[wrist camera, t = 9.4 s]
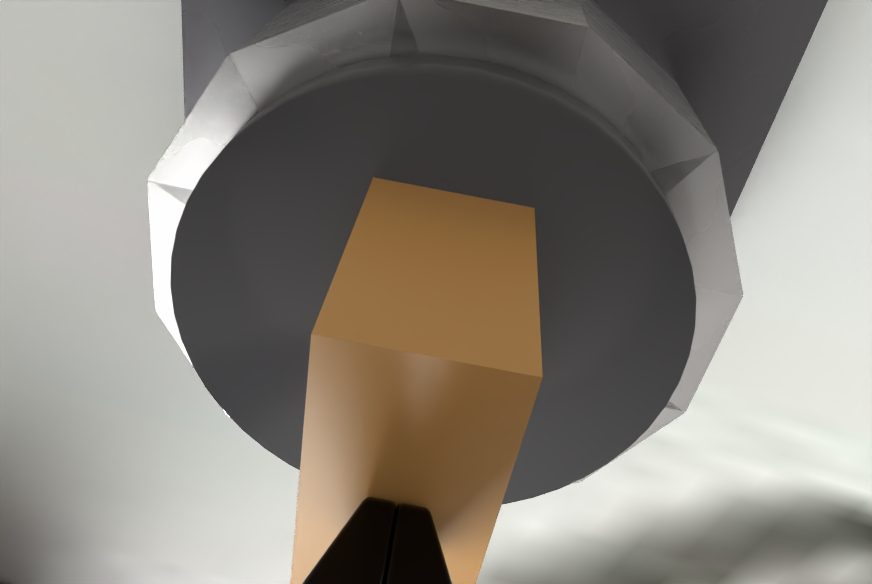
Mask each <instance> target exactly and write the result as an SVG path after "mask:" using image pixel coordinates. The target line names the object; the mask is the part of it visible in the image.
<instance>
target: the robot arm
mask: <svg viewBox="0 0 872 584" xmlns="http://www.w3.org/2000/svg"><path fill="white" fill-rule="evenodd" d="M302 584H452V581H451V578H450V575H449V571H448V568H447V565H446V561H445V558H444V555H443V551H442V548H441V544H440V541H439V538H438V534H437V531H436V528H435V524H434V521H433V518H432V515H431V513H430V511H429V510H428V509H427V508H425V507H421V506H416V505H411V504H405V503H402V504H399V505H398V506H397V509H396V504H395V503H394V502H393V501H389V500H384V499H379V498H374V497H367V498H365V499H364V500H363V501H362V502H361V504H360V505H359V506H358V508H357V509H356V510H355V512H354V513H353V515H352V516H351V517H350V519H349V520H348V521H347V523H346V524H345V526H344V527H343V528H342V530H341V531H340V532H339V534H338V535H337V536H336V538H335V539H334V541H333V542H332V543H331V545H330V546H329V547H328V549H327V550H326V552H325V553H324V554H323V556H322V557H321V558H320V560H319V561H318V562H317V564H316V565H315V567H314V568H313V569H312V571H311V572H310V573H309V575H308V576H307V578H306V579H305V580H304V582H303V583H302Z"/></svg>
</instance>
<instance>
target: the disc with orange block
mask: <svg viewBox="0 0 872 584" xmlns="http://www.w3.org/2000/svg"><path fill="white" fill-rule="evenodd" d="M170 287H171V295H172V303H173V310H174V316H175V319H176V323H177V326H178V330H179V333H180V337H181V340H182V342H183V345H184V347H185V349H186V351H187V354H188V356H189V358H190V361H191V363H192V365H193V367H194V368H195V370H196V372H197V373H198V375H199V377H200V378H201V380H202V382H203V383H204V385H205V387H206V388H207V390H208V391H209V392H210V394H211V395H212V396H213V397H214V399H215V400H216V401H217V403H218V404H219V405H220V406H221V408H222V409H223V410H224V411H225V412H226V413H227V414H228V415H229V416H230V417H231V418H232V419H233V420H234V422H235V423H236V424H237V425H238V426H239V427H240V428H241V429H242V430H243V431H245V432H246V433H247V434H248V435H249V436H251V437H252V438H253V439H254V440H255V441H257V442H258V443H259V444H260V445H262V446H263V447H264V448H265V449H267V450H268V451H270V452H271V453H273V454H274V455H276V456H277V457H279V458H280V459H282V460H283V461H285V462H286V463H288V464H289V465H291V466H293V467H295V468H297V469H299V470H300V475H299V487H298V499H297V511H296V523H295V535H294V547H293V559H292V571H291V583H290V584H302V583H303V582H304V580H305V579H306V578H307V576H308V575H309V573H310V572H311V571H312V569H313V568H314V567H315V565H316V564H317V562H318V561H319V560H320V558H321V557H322V556H323V554H324V553H325V552H326V550H327V549H328V547H329V546H330V545H331V543H332V542H333V541H334V539H335V538H336V536H337V535H338V534H339V532H340V531H341V530H342V528H343V527H344V526H345V524H346V523H347V521H348V520H349V519H350V517H351V516H352V515H353V513H354V512H355V510H356V509H357V508H358V506H359V505H360V504H361V502H362V501H363V500H364V499H365V498H367V497H374V498H379V499H384V500H389V501H393V502H394V503H395V504H396V509H397V506H398V505H399V504H402V503H405V504H411V505H416V506H421V507H425V508H427V509H428V510H429V511H430V513H431V515H432V518H433V521H434V524H435V528H436V531H437V534H438V538H439V541H440V544H441V548H442V551H443V555H444V558H445V561H446V565H447V568H448V571H449V575H450V578H451V581H452V584H476V581H477V578H478V575H479V572H480V569H481V566H482V562H483V559H484V556H485V553H486V550H487V547H488V544H489V541H490V538H491V535H492V532H493V529H494V526H495V522H496V519H497V516H498V513H499V510H500V507H501V504H507V503H511V502H516V501H520V500H525V499H529V498H533V497H536V496H539V495H542V494H545V493H548V492H551V491H554V490H557V489H560V488H562V487H564V486H566V485H569V484H571V483H573V482H575V481H578V480H580V479H582V478H584V477H586V476H588V475H589V474H591V473H593V472H594V471H596V470H598V469H599V468H601V467H603V466H604V465H606V464H608V463H609V462H610V461H612V460H613V459H614V458H616V457H617V456H618V455H620V454H621V453H622V452H624V451H625V450H626V449H627V448H629V447H630V446H631V445H632V444H633V443H634V442H635V441H636V440H637V439H638V438H639V437H640V436H641V435H642V434H643V433H644V432H645V431H646V430H647V429H648V428H649V427H650V426H651V425H652V423H653V422H654V421H655V419H656V418H657V417H658V416H659V414H660V413H661V412H662V410H663V409H664V408H665V407H666V405H667V403H668V401H669V400H670V398H671V396H672V394H673V393H674V391H675V389H676V387H677V386H678V384H679V382H680V379H681V377H682V374H683V372H684V369H685V366H686V364H687V361H688V358H689V356H690V351H691V346H692V341H693V336H694V331H695V320H696V292H695V284H694V277H693V269H692V265H691V262H690V259H689V255H688V252H687V249H686V245H685V242H684V239H683V236H682V233H681V231H680V228H679V226H678V223H677V221H676V218H675V216H674V213H673V211H672V208H671V206H670V204H669V202H668V200H667V198H666V196H665V194H664V192H663V190H662V188H661V186H660V184H659V182H658V180H657V178H656V177H655V175H654V174H653V172H652V171H651V170H650V168H649V167H648V165H647V164H646V162H645V161H644V160H643V158H642V157H641V155H640V154H639V152H638V151H637V150H636V149H635V148H634V147H633V146H632V145H631V144H630V143H629V142H628V141H627V140H626V139H625V138H624V136H623V135H622V134H621V133H620V132H619V131H618V130H617V129H616V128H615V127H614V126H613V125H612V124H610V123H609V122H608V121H607V120H605V119H604V118H603V117H601V116H600V115H599V114H598V113H596V112H595V111H594V110H593V109H591V108H590V107H589V106H587V105H586V104H585V103H583V102H581V101H580V100H578V99H576V98H575V97H573V96H571V95H569V94H568V93H566V92H564V91H563V90H561V89H559V88H557V87H556V86H554V85H552V84H550V83H547V82H545V81H542V80H540V79H538V78H535V77H533V76H530V75H528V74H525V73H523V72H521V71H518V70H515V69H511V68H507V67H504V66H500V65H496V64H492V63H488V62H485V61H481V60H475V59H467V58H459V57H451V56H443V55H408V56H395V57H388V58H381V59H374V60H368V61H362V62H359V63H356V64H352V65H349V66H345V67H342V68H338V69H335V70H331V71H328V72H326V73H324V74H322V75H319V76H317V77H315V78H313V79H311V80H308V81H306V82H304V83H302V84H300V85H297V86H296V87H294V88H292V89H291V90H289V91H288V92H286V93H285V94H283V95H282V96H280V97H278V98H277V99H275V100H274V101H272V102H271V103H269V104H268V105H267V106H265V107H264V108H263V109H262V110H261V111H260V112H259V113H258V114H256V115H255V116H254V117H253V118H252V119H251V120H250V121H249V122H247V123H246V124H245V125H244V126H243V127H242V128H241V129H240V131H239V132H238V133H237V134H236V135H235V136H234V137H233V138H232V140H231V141H230V142H229V143H228V144H227V145H226V146H225V147H224V149H223V150H222V151H221V152H220V153H219V155H218V156H217V157H216V158H215V160H214V161H213V162H212V163H211V164H210V166H209V167H208V168H207V169H206V171H205V172H204V173H203V174H202V176H201V178H200V179H199V181H198V183H197V185H196V186H195V188H194V190H193V191H192V193H191V195H190V197H189V198H188V200H187V202H186V205H185V208H184V210H183V213H182V216H181V218H180V221H179V224H178V227H177V229H176V234H175V240H174V245H173V250H172V255H171V280H170Z"/></svg>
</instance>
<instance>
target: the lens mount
mask: <svg viewBox="0 0 872 584" xmlns="http://www.w3.org/2000/svg"><path fill="white" fill-rule="evenodd" d="M827 1H828V0H181V3H182V37H183V71H184V105H185V122H184V124H183V125H182V127H181V128H180V130H179V131H178V133H177V135H176V136H175V138H174V139H173V141H172V142H171V144H170V145H169V147H168V148H167V150H166V151H165V153H164V155H163V156H162V158H161V159H160V161H159V162H158V164H157V165H156V167H155V168H154V170H153V171H152V173H151V175H150V176H149V178H148V180H147V187H148V203H149V219H150V235H151V250H152V266H153V282H154V298H155V310H157V311H156V313H157V314H158V316H159V317H160V319H161V320H162V321H163V323H164V324H165V326H166V327H167V329H168V330H169V332H170V333H171V335H172V336H173V338H174V339H175V340H176V342H177V343H178V345H179V346H180V348H181V349H182V351H183V352H184V354H185V355H186V357H187V358H188V360H189V361H190V358H189V356H188V354H187V351H186V349H185V347H184V345H183V342H182V340H181V337H180V333H179V330H178V326H177V323H176V319H175V316H174V310H173V303H172V295H171V287H170V280H171V255H172V250H173V245H174V240H175V234H176V229H177V227H178V224H179V221H180V218H181V216H182V213H183V210H184V208H185V205H186V202H187V200H188V198H189V197H190V195H191V193H192V191H193V190H194V188H195V186H196V185H197V183H198V181H199V179H200V178H201V176H202V174H203V173H204V172H205V171H206V169H207V168H208V167H209V166H210V164H211V163H212V162H213V161H214V160H215V158H216V157H217V156H218V155H219V153H220V152H221V151H222V150H223V149H224V147H225V146H226V145H227V144H228V143H229V142H230V141H231V140H232V138H233V137H234V136H235V135H236V134H237V133H238V132H239V131H240V129H241V128H242V127H243V126H244V125H245V124H246V123H247V122H249V121H250V120H251V119H252V118H253V117H254V116H255V115H256V114H258V113H259V112H260V111H261V110H262V109H263V108H264V107H265V106H267V105H268V104H269V103H271V102H272V101H274V100H275V99H277V98H278V97H280V96H282V95H283V94H285V93H286V92H288V91H289V90H291V89H292V88H294V87H296V86H297V85H300V84H302V83H304V82H306V81H308V80H311V79H313V78H315V77H317V76H319V75H322V74H324V73H326V72H328V71H331V70H335V69H338V68H342V67H345V66H349V65H352V64H356V63H359V62H362V61H368V60H374V59H381V58H388V57H395V56H408V55H443V56H451V57H459V58H467V59H475V60H481V61H485V62H488V63H492V64H496V65H500V66H504V67H507V68H511V69H515V70H518V71H521V72H523V73H525V74H528V75H530V76H533V77H535V78H538V79H540V80H542V81H545V82H547V83H550V84H552V85H554V86H556V87H557V88H559V89H561V90H563V91H564V92H566V93H568V94H569V95H571V96H573V97H575V98H576V99H578V100H580V101H581V102H583V103H585V104H586V105H587V106H589V107H590V108H591V109H593V110H594V111H595V112H596V113H598V114H599V115H600V116H601V117H603V118H604V119H605V120H607V121H608V122H609V123H610V124H612V125H613V126H614V127H615V128H616V129H617V130H618V131H619V132H620V133H621V134H622V135H623V136H624V138H625V139H626V140H627V141H628V142H629V143H630V144H631V145H632V146H633V147H634V148H635V149H636V150H637V151H638V152H639V154H640V155H641V157H642V158H643V160H644V161H645V162H646V164H647V165H648V167H649V168H650V170H651V171H652V172H653V174H654V175H655V177H656V178H657V180H658V182H659V184H660V186H661V188H662V190H663V192H664V194H665V196H666V198H667V200H668V202H669V204H670V206H671V208H672V211H673V213H674V216H675V218H676V221H677V223H678V226H679V228H680V231H681V233H682V236H683V239H684V242H685V245H686V249H687V252H688V255H689V259H690V262H691V265H692V269H693V277H694V284H695V292H696V320H695V331H694V336H693V341H692V346H691V351H690V356H689V358H688V361H687V364H686V366H685V369H684V372H683V374H682V377H681V379H680V382H679V384H678V386H677V387H676V389H675V391H674V393H673V394H672V396H671V398H670V400H669V401H668V403H667V405H666V407H665V408H664V409H663V410H662V412H661V413H660V414H659V416H658V417H657V418H656V419H655V421H654V422H653V423H652V425H651V426H650V427H649V428H648V429H647V430H646V431H645V432H644V433H643V434H642V435H641V436H640V437H639V438H638V439H637V440H636V441H635V442H634V443H633V444H632V445H631V446H630V447H629V448H627V449H626V450H625V451H624V452H622V453H621V454H620V455H622V454H623V453H625V452H626V451H628V450H629V449H631V448H632V447H634V446H635V445H637V444H638V443H640V442H641V441H643V440H644V439H646V438H647V437H649V436H650V435H652V434H653V433H655V432H656V431H658V430H659V429H661V428H662V427H664V426H665V425H667V424H668V423H670V422H671V421H673V420H674V419H676V418H677V417H679V416H680V415H682V414H683V413H684V411H685V412H686V410H687V408H688V406H689V404H690V402H691V400H692V398H693V396H694V394H695V392H696V390H697V388H698V386H699V384H700V382H701V380H702V378H703V376H704V374H705V372H706V370H707V368H708V366H709V364H710V362H711V360H712V358H713V356H714V354H715V352H716V350H717V348H718V346H719V343H720V341H721V339H722V337H723V335H724V333H725V331H726V329H727V327H728V325H729V323H730V321H731V319H732V317H733V315H734V313H735V311H736V309H737V307H738V305H739V303H740V301H741V299H742V297H743V296H742V295H743V291H742V285H741V279H740V274H739V268H738V262H737V256H736V251H735V245H734V239H733V233H732V227H731V222H730V216H731V214H732V212H733V210H734V207H735V205H736V203H737V201H738V199H739V196H740V194H741V192H742V190H743V187H744V185H745V183H746V181H747V179H748V176H749V174H750V172H751V170H752V167H753V165H754V163H755V161H756V159H757V156H758V154H759V152H760V150H761V147H762V145H763V143H764V141H765V139H766V136H767V134H768V132H769V130H770V128H771V125H772V123H773V121H774V119H775V116H776V114H777V112H778V110H779V108H780V105H781V103H782V101H783V99H784V96H785V94H786V92H787V90H788V88H789V85H790V83H791V81H792V79H793V76H794V74H795V72H796V70H797V68H798V65H799V63H800V61H801V59H802V56H803V54H804V52H805V50H806V48H807V45H808V43H809V41H810V39H811V37H812V34H813V32H814V30H815V28H816V25H817V23H818V21H819V19H820V17H821V14H822V12H823V10H824V8H825V5H826V3H827ZM190 362H191V361H190ZM191 364H192V363H191ZM192 368H194V367H193V365H192ZM223 411H224V410H223ZM224 412H225V411H224ZM225 414H227V413H226V412H225ZM227 416H229V415H227ZM229 417H230V416H229ZM230 418H231V417H230ZM620 455H618V456H617V457H619V456H620ZM617 457H616V458H617ZM616 458H614V459H616ZM614 459H613V460H614ZM613 460H612V461H613ZM610 462H611V461H610ZM610 462H609V463H610ZM606 465H607V464H606ZM604 466H605V465H604ZM604 466H603V467H604ZM601 468H602V467H601ZM601 468H599V469H601ZM599 469H598V470H599ZM598 470H596V471H598ZM596 471H594V472H593V473H595V472H596ZM593 473H591V474H589V475H588V476H586V477H584V478H582V479H580V480H578V481H575V482H573V483H578V482H579V481H583V480H584V479H586V478H587V477H589V476H590V475H592V474H593ZM573 483H571V484H573Z"/></svg>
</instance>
